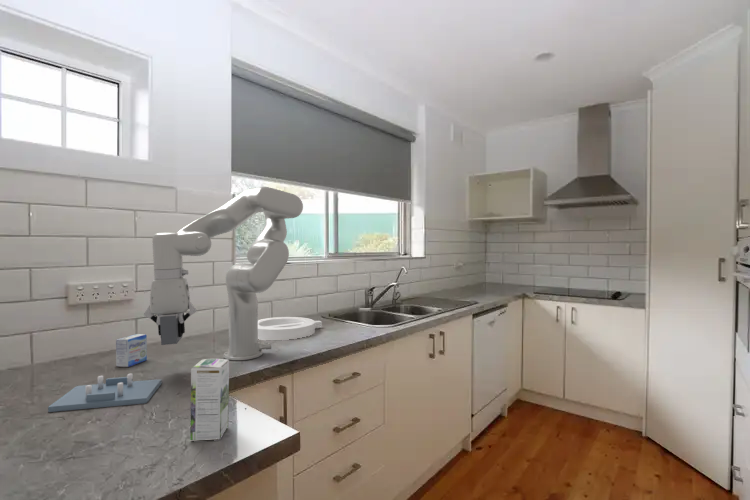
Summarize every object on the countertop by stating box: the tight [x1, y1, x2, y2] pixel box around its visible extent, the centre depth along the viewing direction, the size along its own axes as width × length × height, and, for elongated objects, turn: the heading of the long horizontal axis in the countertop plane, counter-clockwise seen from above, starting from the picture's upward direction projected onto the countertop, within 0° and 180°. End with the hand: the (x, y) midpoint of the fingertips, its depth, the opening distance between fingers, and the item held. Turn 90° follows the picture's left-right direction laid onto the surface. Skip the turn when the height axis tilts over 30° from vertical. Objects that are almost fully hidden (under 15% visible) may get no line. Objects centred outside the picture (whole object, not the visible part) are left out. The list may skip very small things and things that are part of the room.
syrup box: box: [189, 358, 230, 440], centre depth 79 cm, size 6×6×14 cm
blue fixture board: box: [47, 372, 163, 413], centre depth 99 cm, size 20×14×4 cm
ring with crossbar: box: [258, 316, 323, 341], centre depth 172 cm, size 28×28×5 cm
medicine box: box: [115, 333, 148, 368], centre depth 127 cm, size 8×4×9 cm, turn 168°
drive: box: [160, 313, 183, 346], centre depth 117 cm, size 4×8×8 cm, turn 15°
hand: (172, 336), depth 117 cm, fingers closed on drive, 4 cm apart
